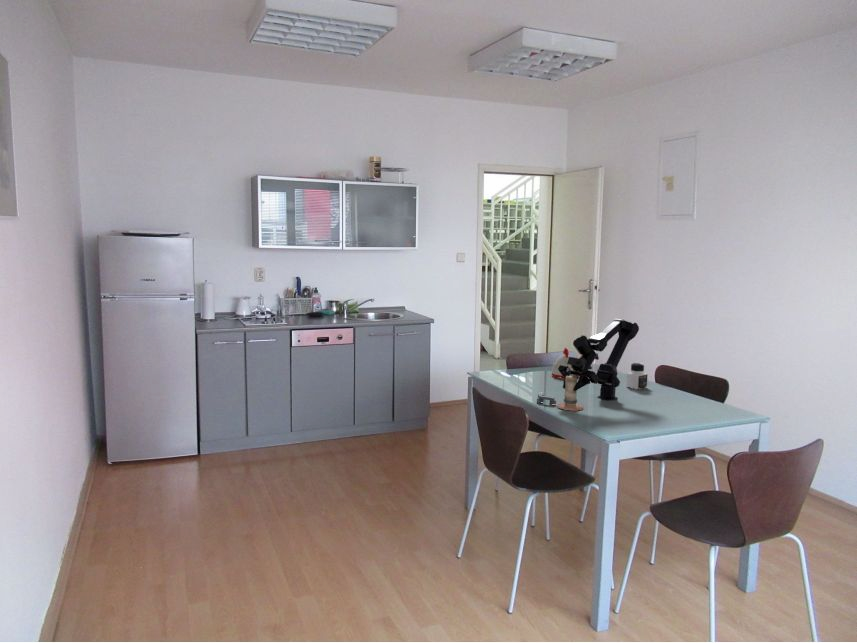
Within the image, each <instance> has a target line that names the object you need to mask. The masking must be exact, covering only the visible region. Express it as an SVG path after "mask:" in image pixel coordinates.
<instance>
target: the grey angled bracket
mask: <svg viewBox="0 0 857 643" xmlns="http://www.w3.org/2000/svg"><path fill="white" fill-rule="evenodd" d="M544 400H546V401H549V405H550V404H556V405H557V400H556V399H555V397H553V396H545V394H543V391H539V393H537V398H536V403H537V402H538V403H537V404H540V403H541V402H543V403H544ZM541 404H542V403H541Z"/></svg>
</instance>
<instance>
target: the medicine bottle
mask: <svg viewBox="0 0 857 643" xmlns="http://www.w3.org/2000/svg"><path fill="white" fill-rule="evenodd" d="M644 370H645V364H643V363H641V362H635V363H631V364H630V372H627V373H626V384H625V386H626V388H628V387H630V388H629V389H633V388H634V389H633V390H637V389H639V390H643V389H642V388H644V389H646V387H648V376H649V374H648V373H645V371H644Z"/></svg>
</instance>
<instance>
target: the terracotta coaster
mask: <svg viewBox="0 0 857 643" xmlns="http://www.w3.org/2000/svg"><path fill="white" fill-rule="evenodd" d="M557 407H559V408H561V409H564V410H563V411H565V410H570V411H569V412H578V410H580V411H582V410H583V409H584V406H583V405H581V404H578V403H576V407H575V408H568V407H565V402H563V403H561V402H560V403H558V404H556V408H557ZM559 408H558V409H559ZM561 409H560V410H561Z"/></svg>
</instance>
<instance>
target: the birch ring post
mask: <svg viewBox="0 0 857 643" xmlns="http://www.w3.org/2000/svg"><path fill="white" fill-rule="evenodd" d="M577 382H578V378H577V377H576V376H566V382H565V389H564V398H563V403H565V407H568V408H575V407H576V404H578V399H577V391H578V390H576V391H574V390H573V389H574V387H575V385H576V383H577Z"/></svg>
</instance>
